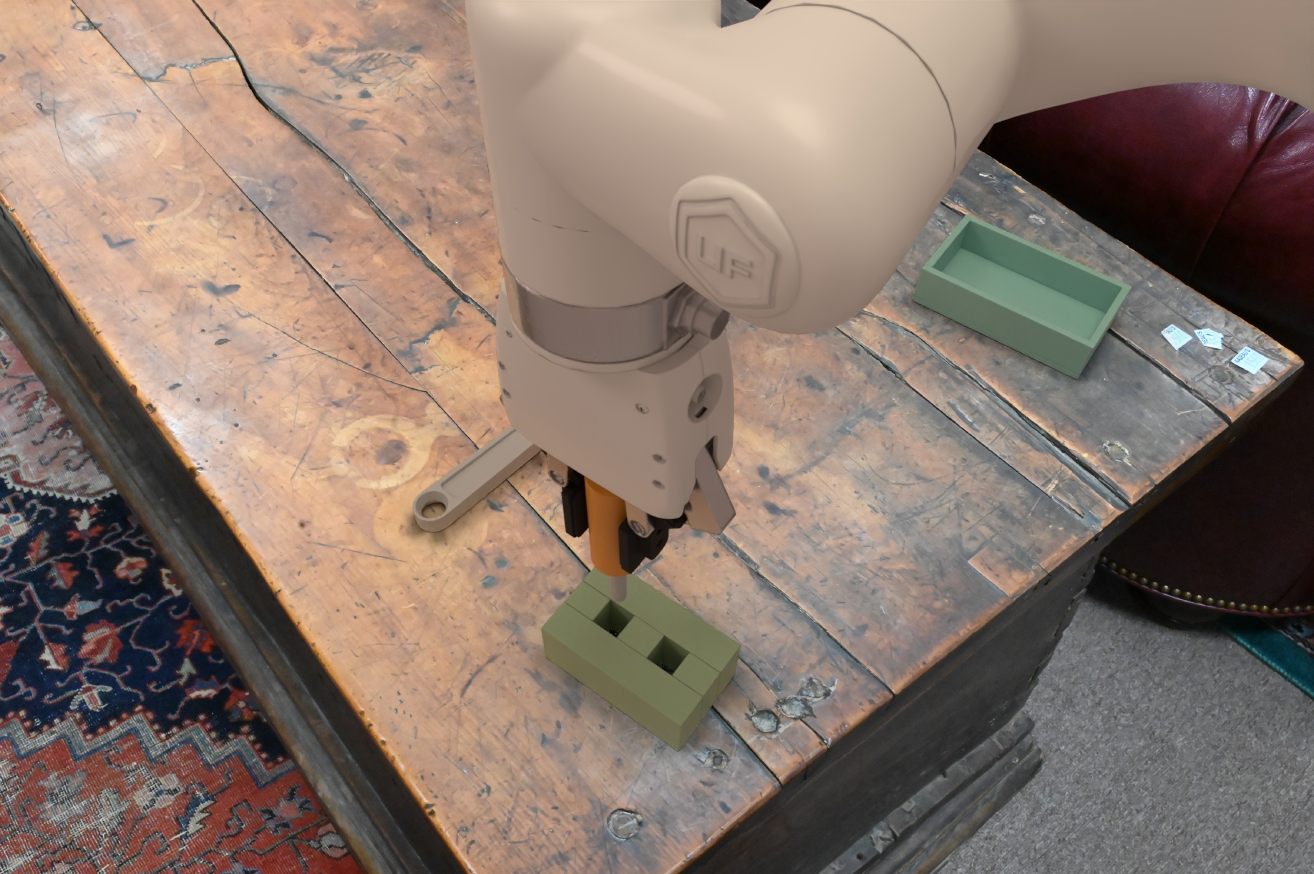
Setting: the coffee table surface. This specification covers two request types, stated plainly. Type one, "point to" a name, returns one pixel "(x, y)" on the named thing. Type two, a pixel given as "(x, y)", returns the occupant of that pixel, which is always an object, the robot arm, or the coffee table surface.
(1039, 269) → the tray
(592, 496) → the orange handle
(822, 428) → the coffee table surface
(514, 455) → the adjustable wrench
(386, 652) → the coffee table surface
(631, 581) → the holder
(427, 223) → the coffee table surface
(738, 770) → the coffee table surface
